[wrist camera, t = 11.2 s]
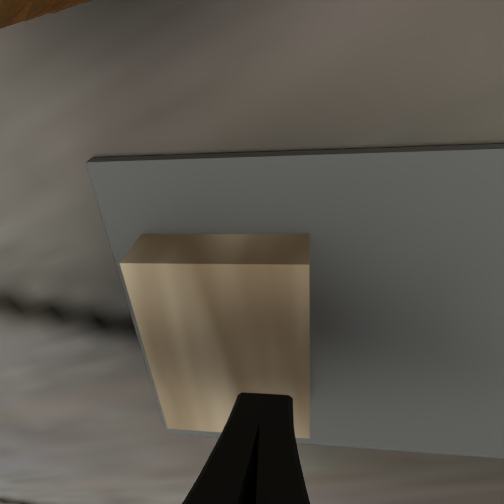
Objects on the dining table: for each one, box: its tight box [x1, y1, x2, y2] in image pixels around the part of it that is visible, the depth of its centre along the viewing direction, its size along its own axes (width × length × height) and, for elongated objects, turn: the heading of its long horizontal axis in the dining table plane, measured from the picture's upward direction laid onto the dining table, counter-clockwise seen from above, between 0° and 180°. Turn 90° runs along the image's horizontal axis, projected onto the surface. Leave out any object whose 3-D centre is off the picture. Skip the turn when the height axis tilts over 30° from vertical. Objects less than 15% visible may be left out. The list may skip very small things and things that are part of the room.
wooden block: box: [120, 234, 310, 439], centre depth 13 cm, size 2×7×5 cm
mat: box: [86, 144, 504, 459], centre depth 13 cm, size 16×12×1 cm
